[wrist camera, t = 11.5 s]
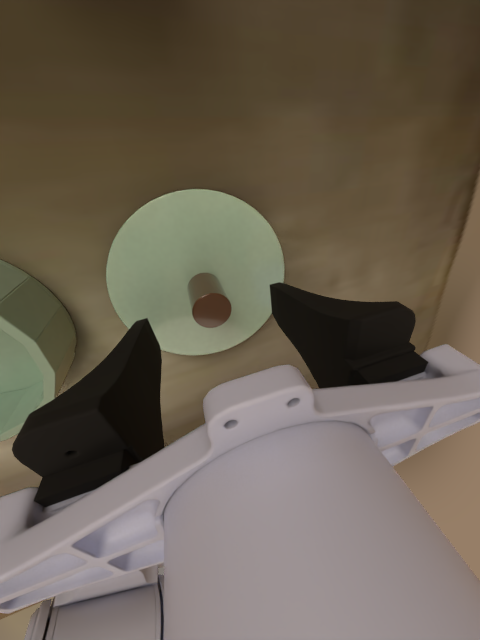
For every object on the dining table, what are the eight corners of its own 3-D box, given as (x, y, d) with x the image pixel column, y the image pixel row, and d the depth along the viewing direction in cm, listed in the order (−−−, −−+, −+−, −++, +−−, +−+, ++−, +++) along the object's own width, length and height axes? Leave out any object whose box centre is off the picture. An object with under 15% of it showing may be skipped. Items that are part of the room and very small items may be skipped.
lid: (305, 225, 18) (342, 241, 14) (246, 354, 23) (262, 390, 19) (122, 150, 13) (106, 144, 9) (100, 337, 18) (85, 380, 14)
